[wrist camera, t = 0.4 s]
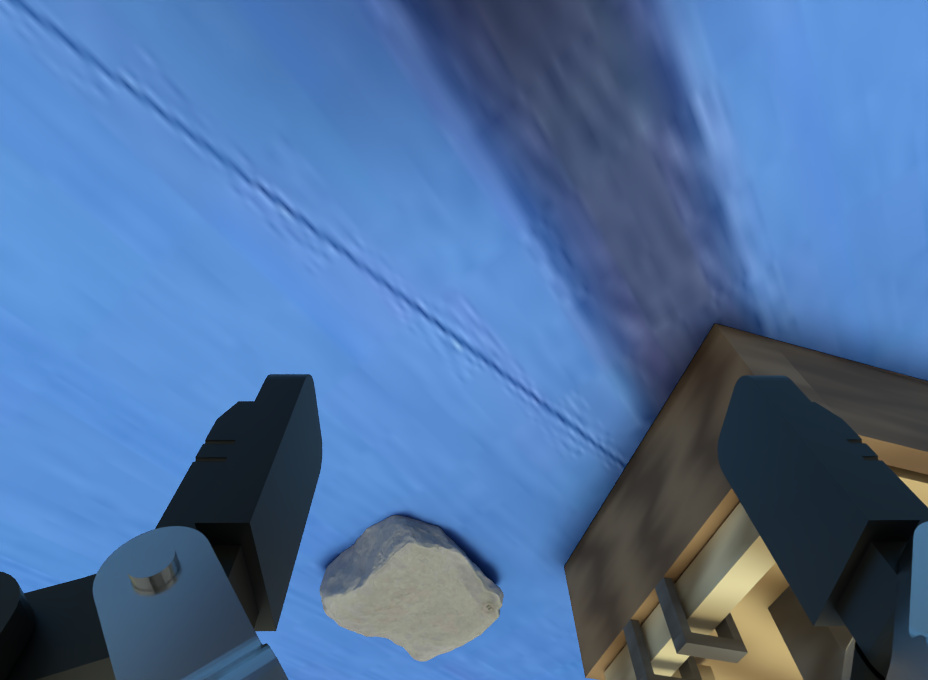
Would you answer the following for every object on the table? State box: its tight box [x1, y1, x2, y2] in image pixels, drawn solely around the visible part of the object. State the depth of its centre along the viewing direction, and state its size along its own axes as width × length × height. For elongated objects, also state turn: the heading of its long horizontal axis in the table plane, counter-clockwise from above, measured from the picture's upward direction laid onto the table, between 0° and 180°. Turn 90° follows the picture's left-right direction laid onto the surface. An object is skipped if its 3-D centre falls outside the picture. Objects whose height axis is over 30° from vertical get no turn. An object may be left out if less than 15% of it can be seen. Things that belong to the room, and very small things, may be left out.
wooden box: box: [564, 324, 928, 680], centre depth 34 cm, size 22×18×12 cm
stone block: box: [320, 515, 503, 661], centre depth 42 cm, size 12×5×10 cm
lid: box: [694, 465, 928, 680], centre depth 30 cm, size 19×12×8 cm, turn 163°
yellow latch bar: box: [604, 503, 776, 680], centre depth 30 cm, size 19×6×3 cm, turn 163°
